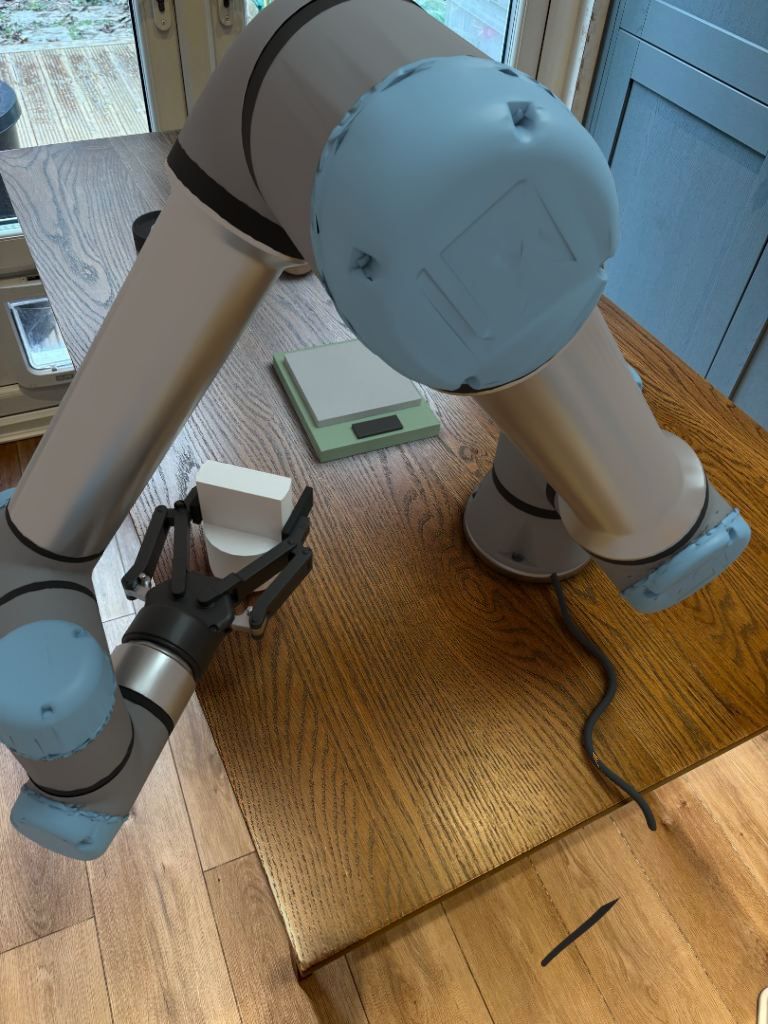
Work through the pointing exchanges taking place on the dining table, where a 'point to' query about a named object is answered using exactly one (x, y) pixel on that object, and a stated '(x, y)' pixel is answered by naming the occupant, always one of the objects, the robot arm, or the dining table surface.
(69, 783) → the robot arm
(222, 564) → the base with upright slab
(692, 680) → the dining table surface
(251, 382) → the dining table surface
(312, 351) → the scale
